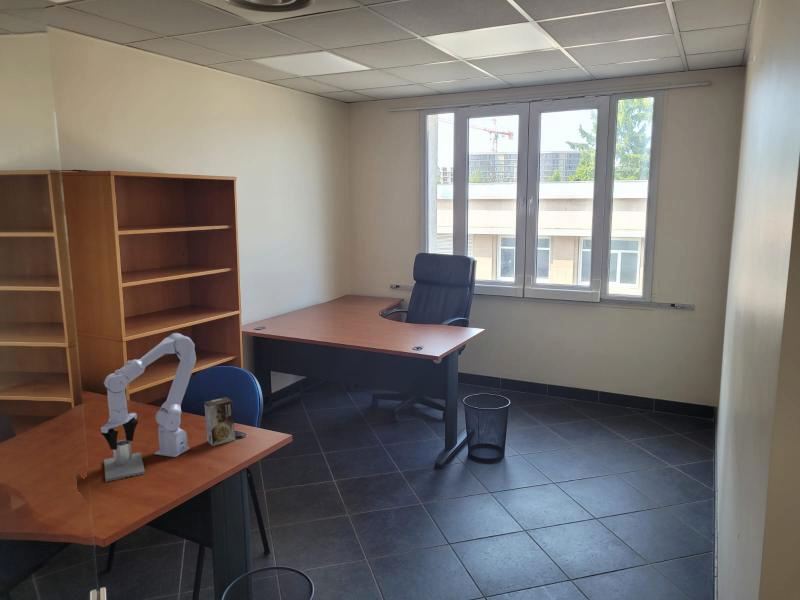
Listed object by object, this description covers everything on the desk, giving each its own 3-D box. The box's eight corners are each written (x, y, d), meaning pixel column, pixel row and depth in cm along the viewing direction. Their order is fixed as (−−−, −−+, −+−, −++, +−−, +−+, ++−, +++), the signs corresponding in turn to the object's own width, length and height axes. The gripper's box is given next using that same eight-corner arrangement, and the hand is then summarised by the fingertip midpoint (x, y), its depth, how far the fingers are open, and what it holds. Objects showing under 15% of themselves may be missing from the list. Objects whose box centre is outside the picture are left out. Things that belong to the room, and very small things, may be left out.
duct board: (140, 454, 214) (139, 444, 213) (145, 473, 198) (143, 462, 197) (104, 462, 208) (103, 451, 207) (105, 482, 192) (104, 470, 192)
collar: (131, 457, 209) (130, 438, 208) (132, 463, 204) (130, 444, 203) (114, 460, 207) (112, 441, 206) (114, 466, 202) (112, 447, 201)
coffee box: (229, 435, 230) (226, 396, 228) (235, 440, 225) (232, 400, 223) (206, 441, 225) (203, 401, 222) (212, 446, 220) (209, 405, 217)
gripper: (124, 400, 210) (127, 436, 212) (92, 414, 197) (96, 452, 199) (140, 401, 208) (143, 437, 210) (109, 415, 195) (113, 454, 197)
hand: (121, 444), depth 204 cm, fingers open, 7 cm apart
